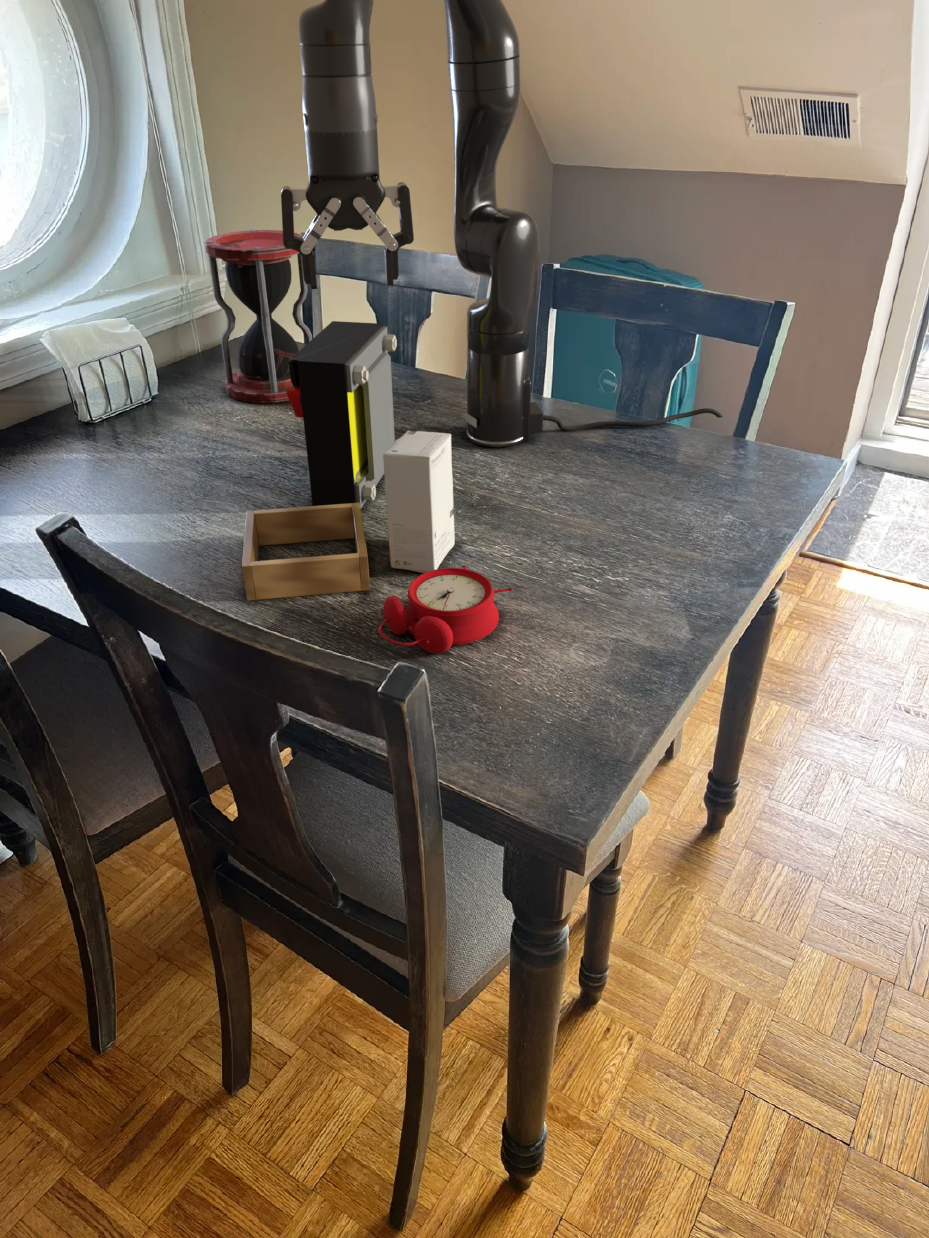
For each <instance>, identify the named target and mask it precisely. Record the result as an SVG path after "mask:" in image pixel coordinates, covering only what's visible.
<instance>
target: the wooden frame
mask: <svg viewBox="0 0 929 1238" xmlns="http://www.w3.org/2000/svg"><path fill="white" fill-rule="evenodd" d="M362 515H363V514H362V508H360V503H349V504H335V505H322V506H312V505H311V506H296V507H283V508H270V509H268V508H267V509H255V510H246V511H245V523H244V534H243V535H244V536H243V546H242V559H241V571H242V576H243V577H242V578H243V584H244V590H245V596H246V601H247V602H248V601H249V602H250V601H258V600H270V599H271V600H272V599H283V598H284V599H285V598H292V597H293V598H294V597H305V596H307V597H308V596H316V595H327V594H329V595H330V594H340V593H341V594H342V593H353V592H363V591H371V586H370V585H371V584H370V569H369V558H368V549H367V543H366V537H365V531H364V523H363V522H364V521H363V516H362ZM350 539H354V545H355V551H356V552H353V553H344V554H343V553H342V554H330V555H329V554H328V555H317V556H305V557H293V558H279V559H268V560H259V546H260V547H261V546H270V545H271V546H274V545H287V544H299V543H311V542H313V543H314V542H323V541H336V540H350Z"/></svg>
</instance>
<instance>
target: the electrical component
mask: <svg viewBox="0 0 929 1238" xmlns="http://www.w3.org/2000/svg"><path fill="white" fill-rule="evenodd" d="M397 344H398V340H397V337H396V335H395V334H389V333H388V326H387V325H384V323H377V322H357V321H341V320H340V321H338V320H332V321H331V322H329V324H327V325H326V326H325V327H324V328H323V329H322V330H321V331H320V332H319V333H317V335H315V336H314V337H312V340H311V341H310V342H309V343H308V344H307V345H306V344H305V345H304V346H303V347H302V348H301V349H300V350H299V352H298V353H297V354H296V355H294V356H293V357H292V358H291V359H290V361H289V369H290V378H291V382H292V384H293V386H294V388H295V390H287V392H286V393H287V396H288V398H289V403H290V406H291V408H292V410H293V413H294V414H295V417H296V418H301V419H303V421H302V422H303V427H304V428H303V430H304V439H305V447H306V449H305V450H306V458H307V459H306V460H307V465H308V467H307V468H308V476H309V487H310V495H311V504H312V505H311V506H322V505H335V504H349V503H360V508H361V509H362V508H363V506H364V505H365V504H366V502H368V501H370V502H373V501H374V500H375V499H376V496H377V488H376V487H377V485H378V484H379V482H380V481H381V480H382V478H383V476H384V462H383V454H384V453H385V452H386V451H387V450H388V449H389V448H390V447H391V446H392V445H393V444H394V441H396V439H395V436H396V435H395V418H394V400H393V399H394V398H393V381H392V380H393V379H392V377H393V376H392V362H391V361H392V359H391V355H390V354H389V353H388V352H395V351H396V349H397V347H398V346H397Z"/></svg>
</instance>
